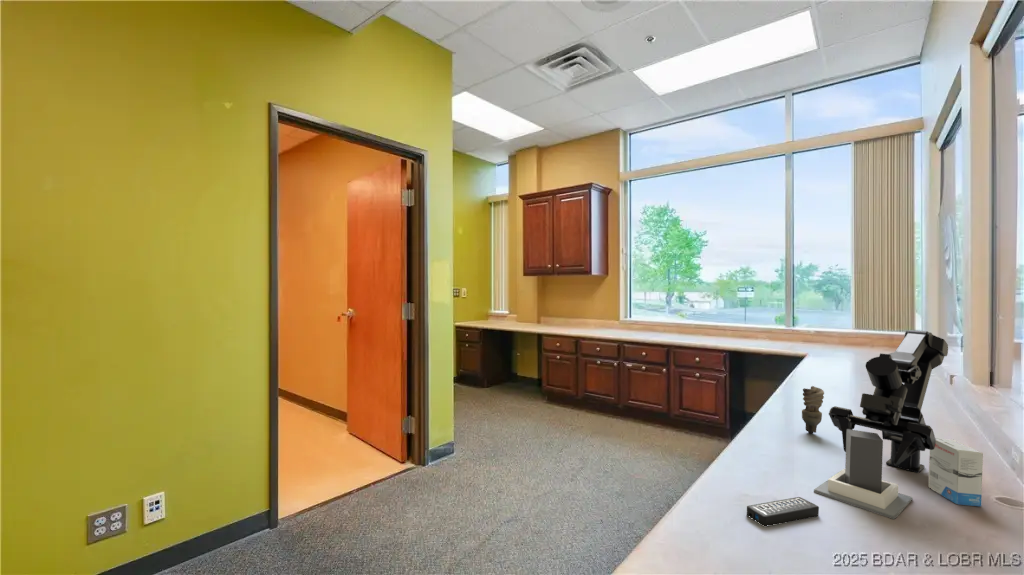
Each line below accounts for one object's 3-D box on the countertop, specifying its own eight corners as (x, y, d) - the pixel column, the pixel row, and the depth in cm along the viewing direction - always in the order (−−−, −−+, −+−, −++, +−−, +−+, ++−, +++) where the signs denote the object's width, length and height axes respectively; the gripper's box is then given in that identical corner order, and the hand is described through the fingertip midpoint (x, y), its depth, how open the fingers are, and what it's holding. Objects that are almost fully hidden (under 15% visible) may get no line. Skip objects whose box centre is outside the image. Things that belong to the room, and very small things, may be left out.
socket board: (836, 476, 108) (836, 463, 108) (912, 499, 97) (912, 485, 97) (813, 491, 100) (814, 478, 100) (894, 519, 89) (894, 503, 89)
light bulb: (819, 432, 141) (821, 385, 141) (825, 438, 136) (826, 389, 136) (799, 430, 143) (800, 383, 143) (804, 435, 138) (805, 387, 138)
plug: (844, 485, 102) (846, 428, 102) (875, 491, 100) (877, 433, 99) (848, 494, 97) (850, 435, 97) (881, 501, 95) (882, 440, 95)
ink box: (982, 507, 94) (984, 452, 94) (955, 504, 95) (957, 450, 95) (951, 489, 103) (953, 438, 103) (927, 486, 104) (928, 436, 103)
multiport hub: (819, 518, 89) (820, 506, 89) (764, 528, 85) (764, 516, 85) (799, 507, 94) (799, 496, 94) (745, 517, 89) (745, 505, 89)
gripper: (832, 373, 111) (812, 425, 105) (933, 389, 95) (916, 451, 89) (844, 400, 115) (825, 451, 109) (942, 419, 100) (926, 480, 94)
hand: (869, 457), depth 100 cm, fingers open, 9 cm apart
